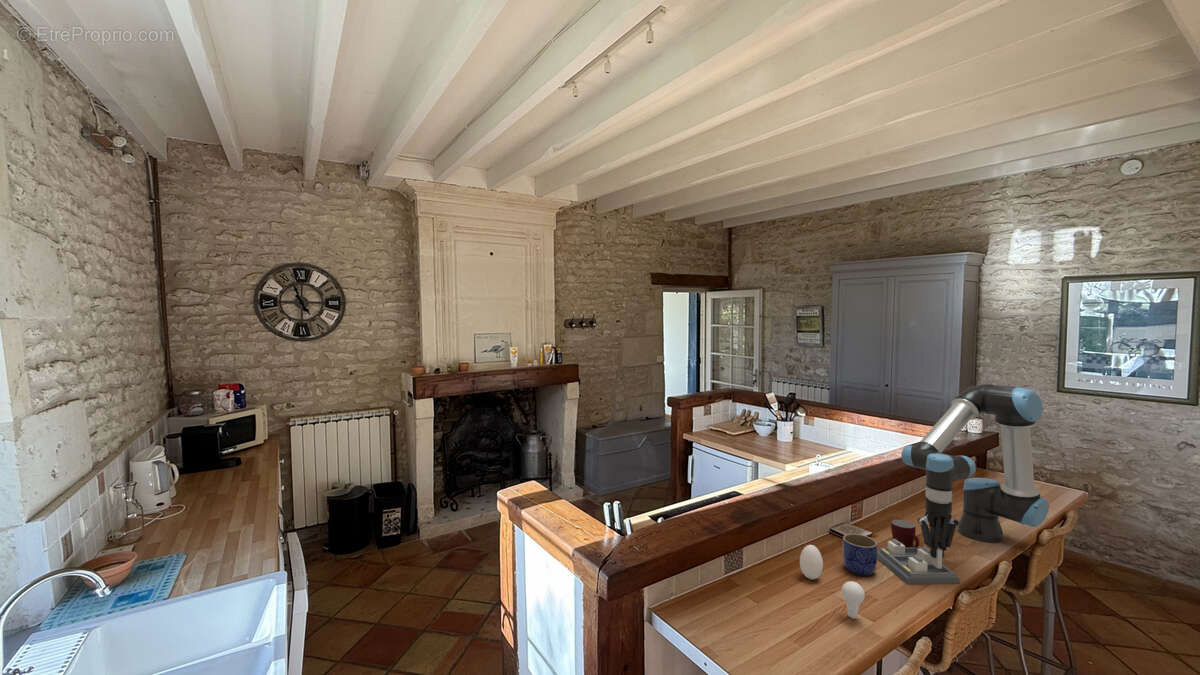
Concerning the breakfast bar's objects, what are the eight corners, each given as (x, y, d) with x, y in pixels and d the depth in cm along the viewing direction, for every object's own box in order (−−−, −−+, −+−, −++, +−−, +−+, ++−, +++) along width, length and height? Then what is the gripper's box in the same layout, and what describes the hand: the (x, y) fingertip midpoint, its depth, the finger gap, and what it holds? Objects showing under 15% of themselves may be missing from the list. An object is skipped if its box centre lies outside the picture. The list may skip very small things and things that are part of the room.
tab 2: (927, 560, 176) (928, 545, 176) (935, 566, 172) (936, 551, 172) (917, 560, 176) (917, 546, 176) (924, 566, 172) (924, 551, 172)
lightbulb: (837, 612, 149) (837, 577, 149) (856, 611, 150) (856, 576, 149) (848, 625, 143) (849, 588, 143) (868, 624, 144) (869, 587, 143)
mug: (926, 554, 185) (926, 528, 185) (913, 558, 181) (913, 532, 181) (899, 543, 194) (899, 518, 194) (886, 547, 191) (886, 521, 191)
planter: (873, 565, 177) (874, 535, 176) (879, 581, 167) (880, 549, 166) (840, 560, 181) (840, 531, 180) (844, 575, 170) (845, 544, 170)
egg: (797, 580, 168) (797, 546, 167) (802, 570, 174) (802, 538, 173) (820, 586, 163) (821, 552, 163) (824, 576, 170) (825, 544, 169)
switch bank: (922, 556, 184) (922, 546, 183) (959, 583, 165) (959, 572, 165) (875, 556, 183) (875, 547, 183) (906, 583, 165) (906, 573, 165)
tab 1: (898, 552, 182) (898, 538, 182) (904, 558, 178) (905, 543, 178) (887, 552, 182) (887, 538, 182) (893, 558, 178) (894, 543, 178)
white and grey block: (919, 569, 170) (919, 554, 170) (927, 575, 166) (927, 560, 166) (908, 569, 170) (908, 554, 170) (915, 575, 166) (915, 560, 166)
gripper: (949, 495, 171) (947, 560, 172) (912, 495, 171) (911, 561, 172) (965, 503, 163) (963, 572, 165) (927, 504, 163) (925, 572, 165)
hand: (936, 566), depth 168 cm, fingers closed
